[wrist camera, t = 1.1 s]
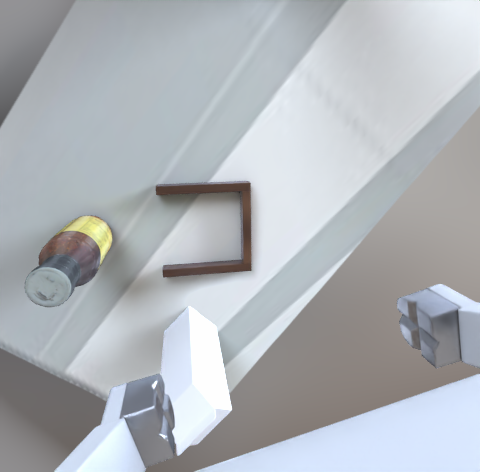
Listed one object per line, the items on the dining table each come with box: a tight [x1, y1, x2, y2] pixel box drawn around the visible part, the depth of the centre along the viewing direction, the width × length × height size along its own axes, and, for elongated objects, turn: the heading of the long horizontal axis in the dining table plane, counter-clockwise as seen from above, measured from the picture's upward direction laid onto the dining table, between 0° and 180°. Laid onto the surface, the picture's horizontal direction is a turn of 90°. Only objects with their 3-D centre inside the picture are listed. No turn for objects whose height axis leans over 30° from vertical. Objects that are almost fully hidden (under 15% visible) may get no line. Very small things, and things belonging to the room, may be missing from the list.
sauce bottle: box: [25, 216, 112, 307], centre depth 42 cm, size 7×6×20 cm
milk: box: [161, 306, 232, 455], centre depth 48 cm, size 6×6×22 cm
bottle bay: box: [156, 181, 251, 277], centre depth 53 cm, size 13×13×2 cm
